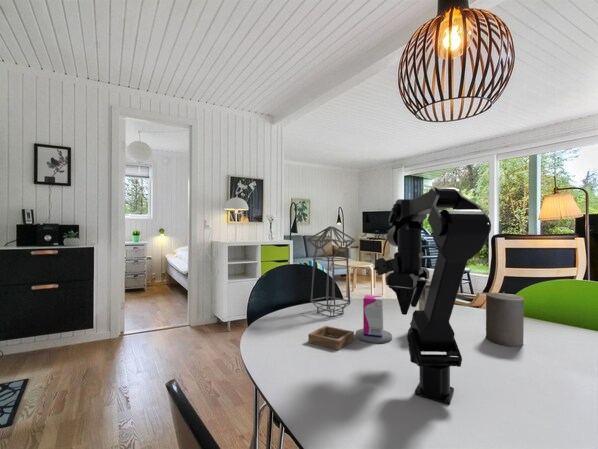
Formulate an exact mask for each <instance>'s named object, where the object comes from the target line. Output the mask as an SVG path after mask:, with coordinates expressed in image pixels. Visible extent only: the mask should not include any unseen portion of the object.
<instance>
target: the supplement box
mask: <svg viewBox="0 0 598 449" xmlns="http://www.w3.org/2000/svg"><path fill="white" fill-rule="evenodd" d="M362 304H363V307H362V308H363V314H362V315H363V316H362V317H363V318H362V319H363V328H362V329H363V335H364V336H373V337H383V330H384V296H383V295H382V296H381V295H368V294H365V295H364V297H363V303H362Z"/></svg>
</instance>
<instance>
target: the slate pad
mask: <svg viewBox="0 0 598 449" xmlns="http://www.w3.org/2000/svg"><path fill="white" fill-rule="evenodd" d="M355 337H356V338H357V339H358V340H359V341H362V342H365V343H370V344H386V343H387V344H388V343H389V342H391V341H392V340H393V334H392V333H391V332H390V331H387V330H385V329H383V337H373V336H364V335H363V328H359V329H357V330H356V331H355Z"/></svg>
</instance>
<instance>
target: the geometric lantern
mask: <svg viewBox="0 0 598 449" xmlns="http://www.w3.org/2000/svg"><path fill="white" fill-rule="evenodd" d="M321 233H322V234H321ZM341 234H342V235H343V236H345V237H348V238H349V239H345V238H344V237H343V236H342V235H341ZM318 235H319V237H318V238H317V239H312V238H315V237H316V236H318ZM333 236H334V239H333ZM326 237H327V238H326ZM341 239H342V240H341ZM306 241H308V242H309V243H310V244H311V245H312V246H313V247H314V248H315V250H314V253H313V257H312V276H311V277H312V278H311V293H310V301H309V302H310V303H312V304H313V305H314V306H315V307H316V313H317V314H319V315H323V316H325V315H326V317H329V318H334V317H337V316H340V315H343V314H344V313H345V312H344V309H346V308H347V307H348V306H350V305H351V303H352V302H351V289H350V275H349V274H350V273H349V272H350V271H349V270H350V269H349V260H350V259H349V256H348V255H349V254H348V247H350V246H351V245H352V244H353V243H355V242H357V239H355V238H353V237H351V236H350V235H348V234H346V233H345V232H343V231H342V230H340V229H338V228H336V226H328V227H326V228H324V229H322V230H321V231H319V232H318V233H316V234H314V235H312V236H310V237H308V238H306ZM330 242H332V243H333V244H335V245H336V246H337V247H338V248H337V249H336V251H335V253H334V254H333V256H332V257H330V256H329V255H328V254H327V253H326V251H325V249H324V247H325V246H327V245H329V243H330ZM339 243H340V245H339ZM343 244H345V246H343ZM319 249H320V250H322V252H323V254H324V255H325V257H317V253H318V250H319ZM339 251H343V253H344V258H341V257H335V256H336V255H337V253H338V252H339ZM317 260H318V261H326V262H327V269H326V270H327V273H326V274H327V275H326V290H325V296H322V297H319V298H313V294H314V281H315V271H316V261H317ZM342 261H343V262H344V261H345V262H346V276H347V279H346V280H347V299H343V298H341V297H340V298H339V297H336V291H335V287H336V286H335V265H334V264H335V262H342ZM330 262H331V271H332V272H331V296H329V291H330V290H329V287H330V283H329V282H330V281H329V280H330ZM323 299H326V304H324V303H321V302H318V300H323ZM329 299H330V302H329ZM336 300H338V301H343V303H337V304H336ZM332 302H333V304H332ZM316 304H317V305H320V306H317V305H316ZM324 307H326V308H324ZM332 307H333V308H332ZM335 308H337V309H335ZM319 309H320V310H319ZM323 311H327V312H330V313H329V314H330V315H329V314H324V313H321V312H323ZM335 312H340V313H337V314H335Z"/></svg>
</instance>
